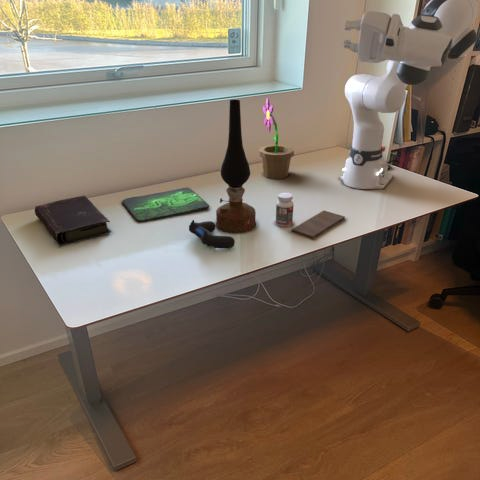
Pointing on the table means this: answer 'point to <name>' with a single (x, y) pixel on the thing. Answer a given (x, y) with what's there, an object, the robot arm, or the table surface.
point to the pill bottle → (284, 209)
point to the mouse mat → (164, 204)
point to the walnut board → (318, 224)
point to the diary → (72, 220)
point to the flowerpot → (274, 151)
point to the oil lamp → (235, 180)
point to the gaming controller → (210, 235)
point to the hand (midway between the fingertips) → (344, 34)
